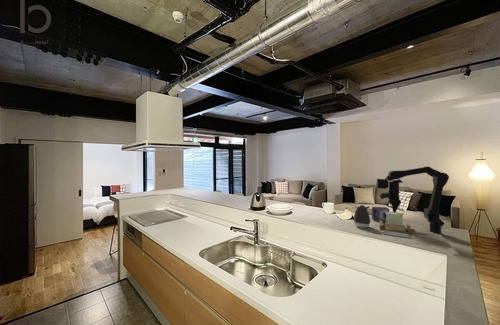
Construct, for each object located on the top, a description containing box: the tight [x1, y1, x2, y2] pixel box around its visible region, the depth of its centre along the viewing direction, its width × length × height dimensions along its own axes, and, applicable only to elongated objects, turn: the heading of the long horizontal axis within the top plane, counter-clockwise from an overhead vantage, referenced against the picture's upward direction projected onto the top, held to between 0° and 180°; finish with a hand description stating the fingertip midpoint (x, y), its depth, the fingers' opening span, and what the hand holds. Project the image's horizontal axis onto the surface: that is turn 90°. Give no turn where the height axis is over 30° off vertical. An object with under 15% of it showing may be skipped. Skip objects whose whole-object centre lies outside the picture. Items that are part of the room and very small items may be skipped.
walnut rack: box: [378, 220, 413, 235], centre depth 140 cm, size 15×17×3 cm
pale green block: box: [385, 212, 404, 225], centre depth 142 cm, size 3×9×10 cm, turn 59°
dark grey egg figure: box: [353, 204, 371, 229], centre depth 145 cm, size 10×10×15 cm
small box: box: [371, 206, 390, 223], centre depth 159 cm, size 11×6×10 cm, turn 72°
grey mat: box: [383, 231, 411, 239], centre depth 129 cm, size 7×13×1 cm, turn 58°
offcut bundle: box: [384, 222, 406, 232], centre depth 136 cm, size 2×11×4 cm, turn 58°
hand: (394, 211), depth 142 cm, fingers open, 4 cm apart
